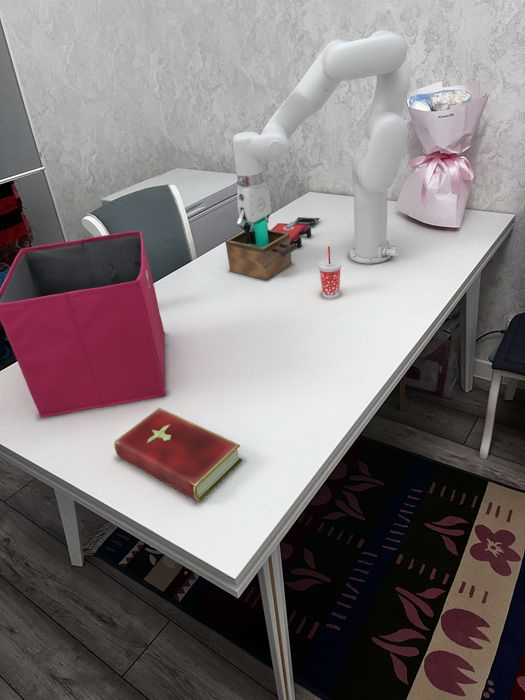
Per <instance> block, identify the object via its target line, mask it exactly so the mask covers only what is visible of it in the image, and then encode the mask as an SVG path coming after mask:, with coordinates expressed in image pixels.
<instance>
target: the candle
mask: <svg viewBox="0 0 525 700" xmlns="http://www.w3.org/2000/svg"><path fill="white" fill-rule="evenodd" d="M249 224H250V223H248V226H249ZM267 226H268V224H267V222H266V219H265V218H264V219H263V218H262V219H260V220H258V221H256V222H254V224H253V231H255V238H256V244H249V245H253V246H258V247H262V248H263V247H265V246H267V245H268V244H269V241H268V232H267Z"/></svg>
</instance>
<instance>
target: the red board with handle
mask: <svg viewBox="0 0 525 700" xmlns="http://www.w3.org/2000/svg"><path fill="white" fill-rule="evenodd" d="M320 219H321V218H320V217H304V216H303V217H302V216H301V217H300V216H298V217H297V218H296V219H295V220H294V221H290V222H289V223H282V222H281V223H280V222H279V223H276V225H274V226H273V227H272V228H271V229H270V230H273V231H278V232H284V233H289V234H290V246H291V245H292V244H296V245H297V249H300V248H301V247H302V246H303V244H302V237H300V236H303V235H306V239H310V238H311V237H312V228H311V227H308V226H314V225H316V223H317V222H318V221H319V220H320Z"/></svg>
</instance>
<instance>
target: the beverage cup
mask: <svg viewBox="0 0 525 700" xmlns="http://www.w3.org/2000/svg"><path fill="white" fill-rule="evenodd" d="M327 256H328V259H326V260H322V261H320V262H319V263H318V264H317V266H318V267H317V268H318V270H319V276H320V277H319V278H320V284H321V292H322V297H323V298H325V299H330V300H331V299H336V298H338V297H340V288H341V268H342V262H340V261H339V260H337V259H331V246H327Z"/></svg>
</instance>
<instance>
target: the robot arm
mask: <svg viewBox="0 0 525 700" xmlns="http://www.w3.org/2000/svg"><path fill="white" fill-rule="evenodd" d="M407 55H408V47H407V43H406V40H405V39H404V38H403V37H402V36H401V35H400V34H398V33H396V32H393V31H389V30H384V29H383V30H382V29H381V30H377V31H375V32H374V33H372V34H370V36H369V37H366V38H361V39H355V40H347V41H346V40H343V39H333V40H331V41H330V42H328V43H327V44H326V45H325V47H324V48H323V49H322V50H321V52H320V53H319V54H318V56H317V57H316V59H315V60H314V61H313V62H312V64H311V65H310V67H309V68H308V70H307V71H306V73H305V74H304V75H303V77H302V78H301V79H300V80H299V83H297V85H296V86H295V87H294V89H292V91H291V92H290V93H289V95H288V96H287V97H286V99H285V100H284V101H283V102H282V103H281V105H280V106H279V107H278V108H277V110H276V111H275V112H274V114H272V116H271V118H270V119H269V120H268V122H267V123H266V125H265V126H264V127H263V130H262V131H261V133H260V134H259V133H257V132H256V131H242V132H239V133H236V134H235V135H233V137H232V148H233V156H234V165H235V171H236V180H237V181H236V184H237V193H236V194H237V195H236V196H237V197H236V198H237V199H236V200H237V213H238V218H237V222H236V226H238V227H239V228H241V229H242V230H243V231H245V233H246V241H247V243H249V244H256V238H255V231H253V224H254V222H256V221H258V220H260V219H262V218H263V219H264V218H265V219H266V222H267V232H268V230H269V228H268V224H269V219H270V215H271V213H272V210H273V207H272V202H271V194H270V190H269V187H268V184H267V181H266V180H265V174H264V166H263V164H264V163H263V161H273V162H274V161H281V160H282V159H284V158H285V157H286V156H287V155H288V153H289V152H290V151H289V150H290V142H289V139H290V138H291V137H292V136H293V134H294V133H295V131H296V130H297V128H299V127H300V125H301V124H302V123H303V122H304V121H305V120H306V119H308V118H310V117H311V116H313V115H315V114H316V113H318V112H319V111H321V109H322V108H323V107H324V106H325V104H326V103H327V101H328V100H329V98H330V97H331V96H332V94H333V93H334V92H335V90H336V89H337V88H338V87H339V86H340V85H341V83H342V82H346V81H347V82H349V81H354V80H355V81H356V80H359V79H364V78H370V77H375V76H376V84H375V90H374V93H373V98H372V101H371V106H370V109H369V113H368V116H367V118H366V122H365V126H364V133H365V136H366V138H367V140H368V145H367V148H366V147H365V148H363V149H361V150H360V151H359V152H358V153H357V154H356V155H355V156H354V158H353V161H352V164H351V177H352V187H353V220H354V221H353V226H354V227H353V229H354V247H353V248H352V249H351V250H350V251H349V258H350V260H352V261H353V262H356V263H359V264H365V265H366V264H367V265H369V264H370V265H372V264H379V263H384V262H385V261H388V260H389V259H391V258H392V257H395V258H396V257H398V254H399V251H398V250H399V249H398V247H397V246H391V241H390V240H387V239H388V238H387V236H388V233H387V232H388V228H387V227H388V190H389V189H390V187H391V186H392V185H393V183H394V181H395V179H396V177H397V174H398V171H399V168H400V164H401V161H402V158H403V155H404V152H405V149H406V146H407V142H408V136H409V135H408V134H409V132H408V131H409V130H408V126H407V125H408V124H407V123H406V120H405V119H404V118H403V113H404V110H405V106H406V102H407V98H408V94H409V91H410V85H411V68H410V63H409V60H408V56H407ZM248 223H250V224H249V226H248ZM268 236H269V235H268Z"/></svg>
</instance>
